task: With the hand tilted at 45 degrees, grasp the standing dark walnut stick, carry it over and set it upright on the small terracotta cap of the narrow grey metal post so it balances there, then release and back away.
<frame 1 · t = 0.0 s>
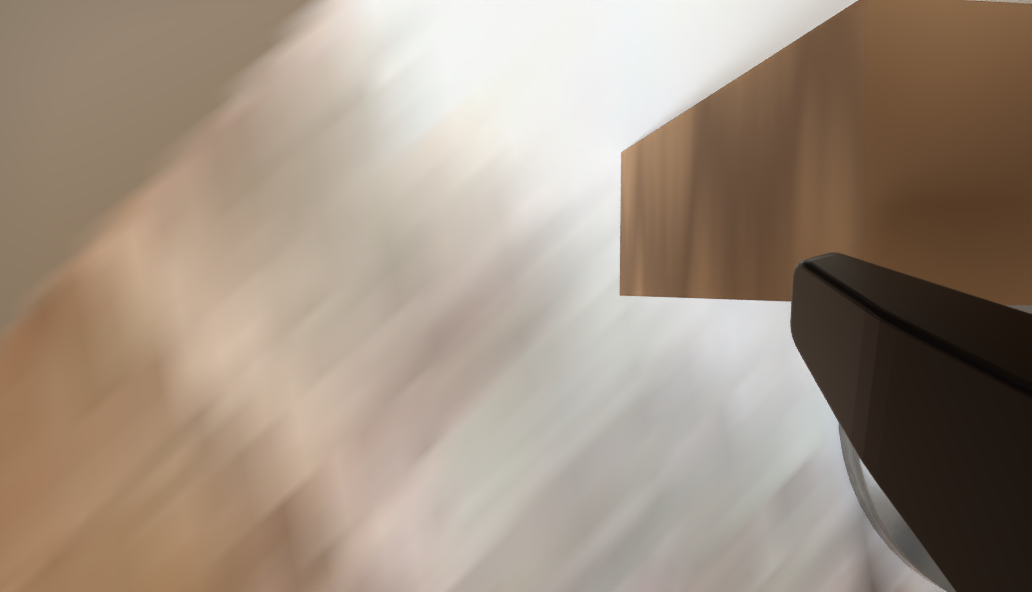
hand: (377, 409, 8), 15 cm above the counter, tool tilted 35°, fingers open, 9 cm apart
walnut stick: (689, 225, 24), on the counter
balance post: (1028, 405, 26), on the counter
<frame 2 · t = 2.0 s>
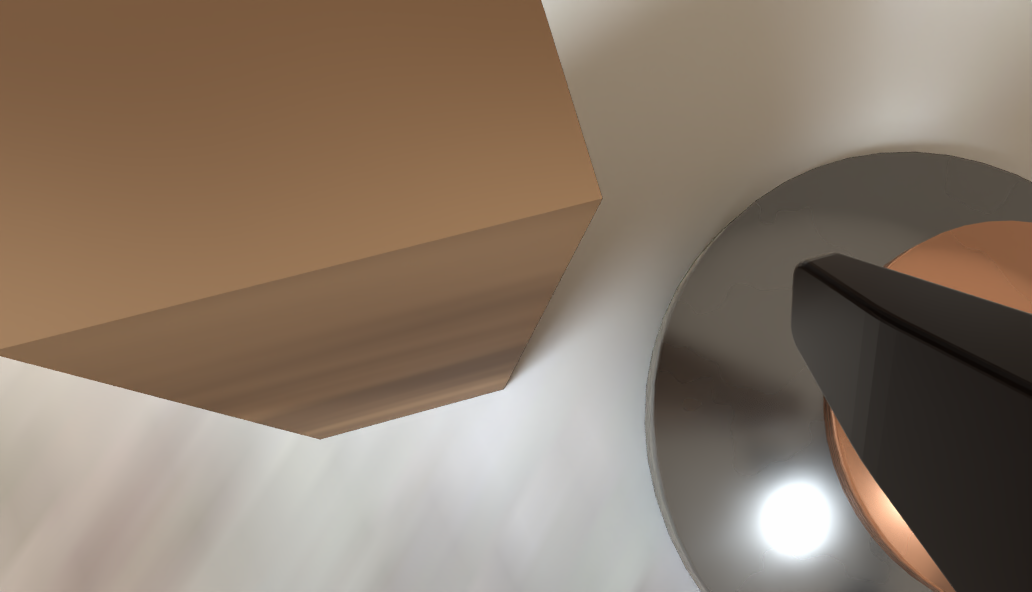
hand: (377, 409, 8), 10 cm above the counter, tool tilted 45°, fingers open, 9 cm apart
walnut stick: (390, 324, 19), on the counter
balance post: (914, 426, 19), on the counter
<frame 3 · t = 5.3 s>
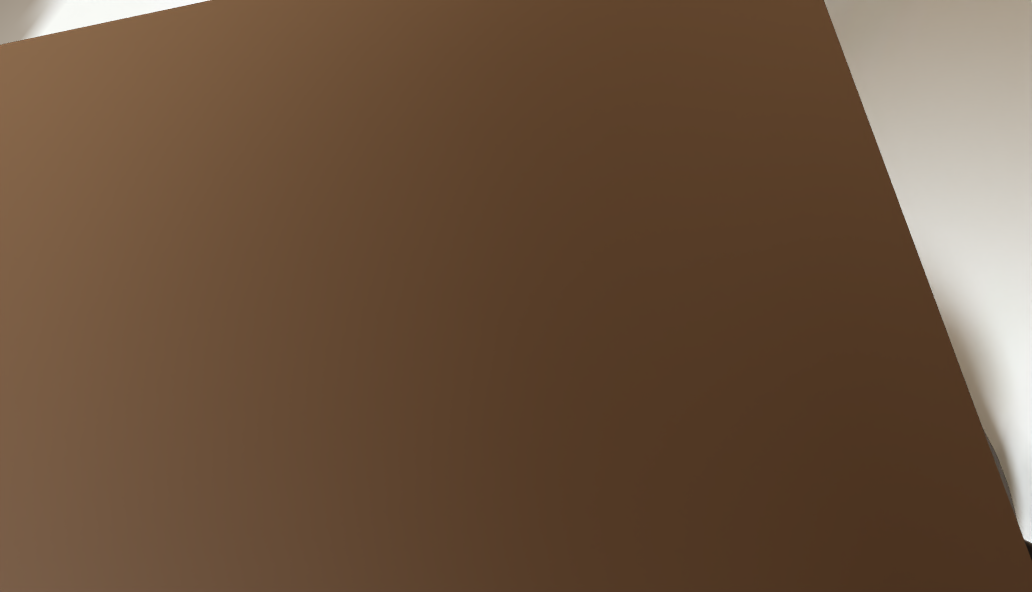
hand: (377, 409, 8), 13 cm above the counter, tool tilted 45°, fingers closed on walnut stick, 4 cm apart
walnut stick: (429, 512, 15), point 7 cm above the counter, touching gripper
when the fingers open (11 cm above the counter, at t = 7.0 s): walnut stick stays where it is, resting on balance post.
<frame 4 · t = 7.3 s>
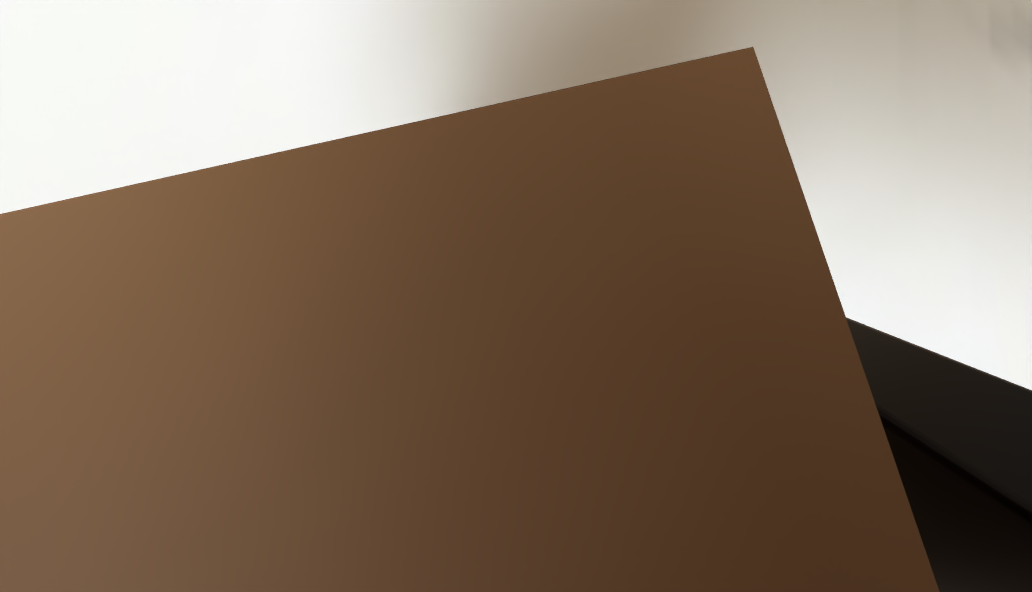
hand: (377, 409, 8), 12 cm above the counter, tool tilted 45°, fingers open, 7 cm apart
walnut stick: (433, 510, 16), point 4 cm above the counter, touching balance post
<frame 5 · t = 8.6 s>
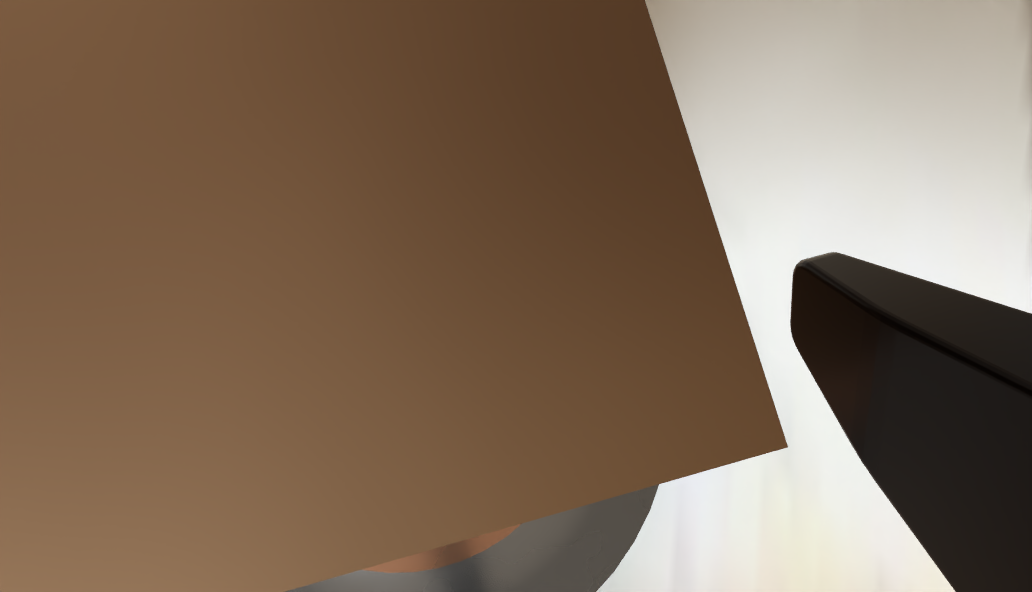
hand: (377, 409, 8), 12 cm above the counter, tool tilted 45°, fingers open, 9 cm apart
walnut stick: (402, 383, 17), point 4 cm above the counter, touching balance post
balance post: (412, 398, 20), on the counter
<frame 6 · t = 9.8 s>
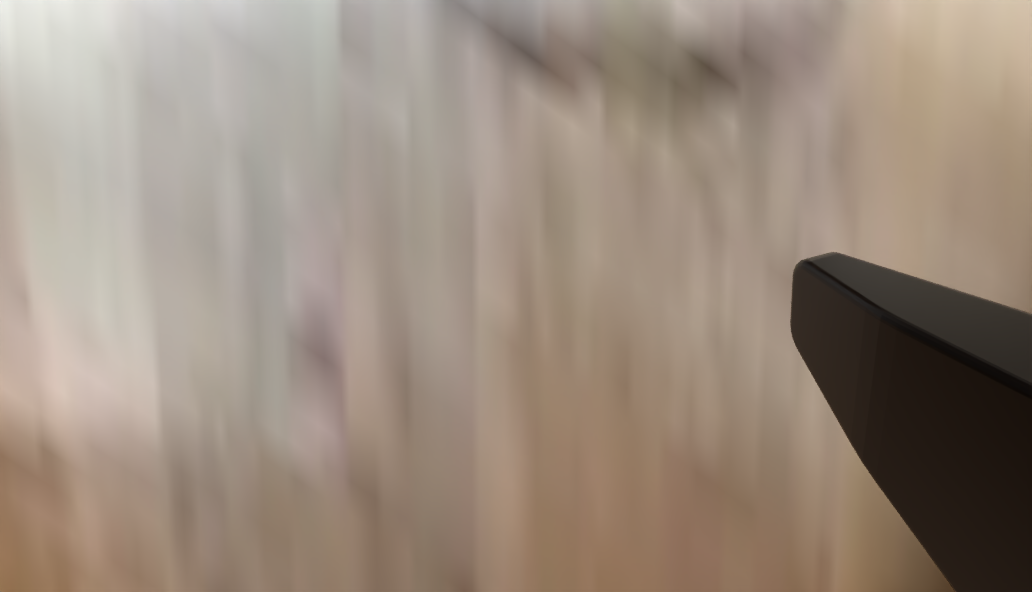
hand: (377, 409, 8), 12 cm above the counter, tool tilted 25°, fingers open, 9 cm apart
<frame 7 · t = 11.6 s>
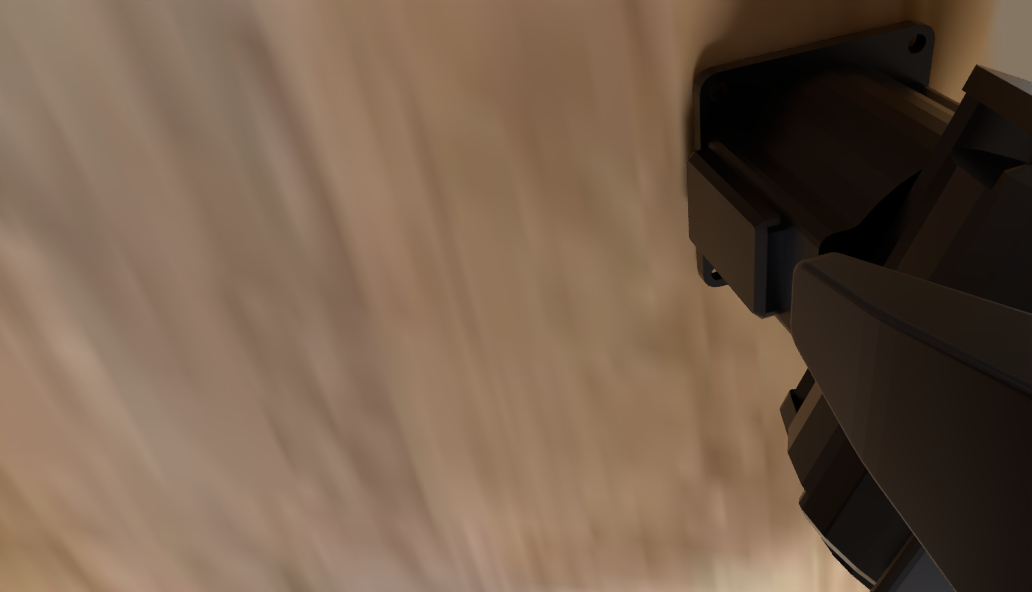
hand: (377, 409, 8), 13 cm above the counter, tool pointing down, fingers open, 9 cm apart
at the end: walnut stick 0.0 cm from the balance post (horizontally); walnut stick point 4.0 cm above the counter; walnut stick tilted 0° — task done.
